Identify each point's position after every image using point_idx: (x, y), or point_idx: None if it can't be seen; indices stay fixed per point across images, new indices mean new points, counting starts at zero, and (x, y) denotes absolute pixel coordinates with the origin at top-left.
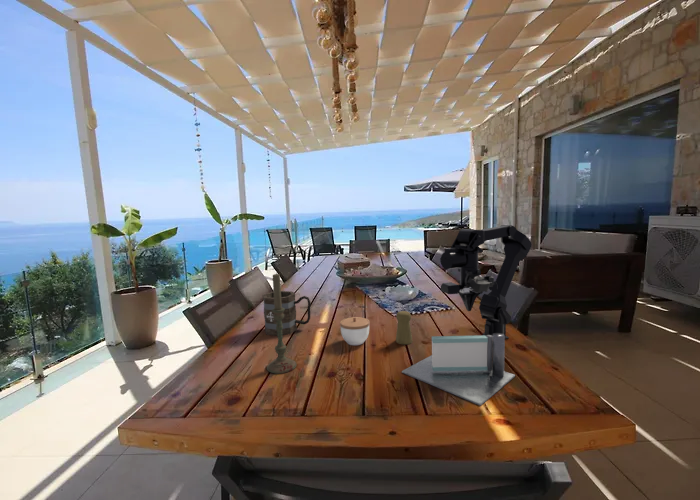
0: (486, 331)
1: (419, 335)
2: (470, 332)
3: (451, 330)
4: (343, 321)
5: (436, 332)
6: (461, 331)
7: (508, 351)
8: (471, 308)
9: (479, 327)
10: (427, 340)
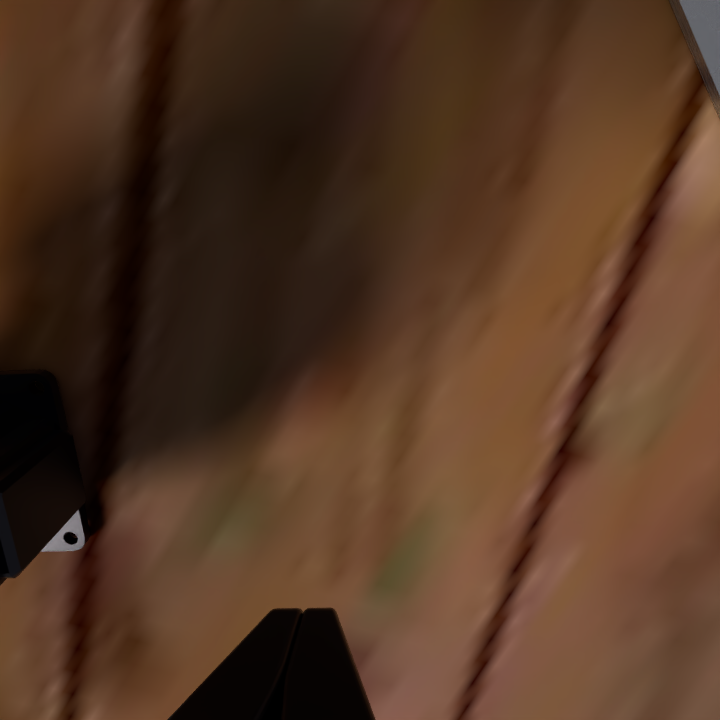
0: (54, 495)
1: (714, 696)
2: (179, 624)
3: None
4: None
5: (506, 713)
6: None
7: (31, 65)
8: (243, 648)
9: (32, 702)
10: (715, 569)
